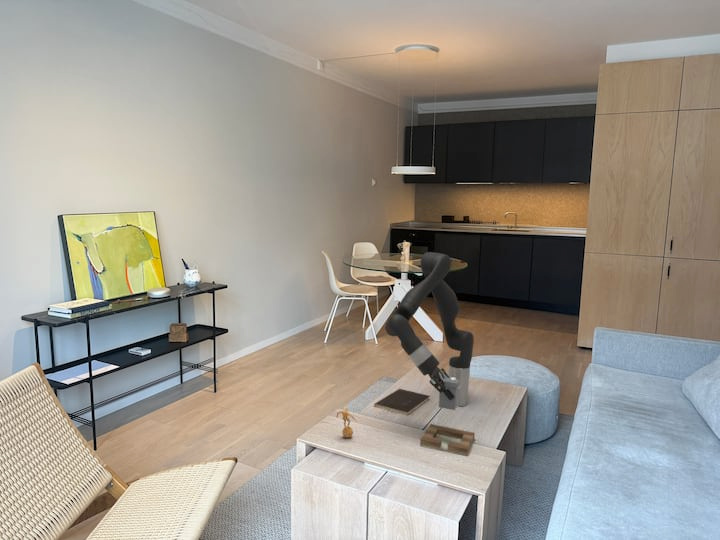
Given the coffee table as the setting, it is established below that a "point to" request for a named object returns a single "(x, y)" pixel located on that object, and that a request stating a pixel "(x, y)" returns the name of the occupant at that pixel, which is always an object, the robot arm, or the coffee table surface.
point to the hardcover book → (402, 401)
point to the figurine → (347, 430)
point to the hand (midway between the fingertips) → (454, 396)
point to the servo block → (454, 388)
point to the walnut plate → (447, 439)
